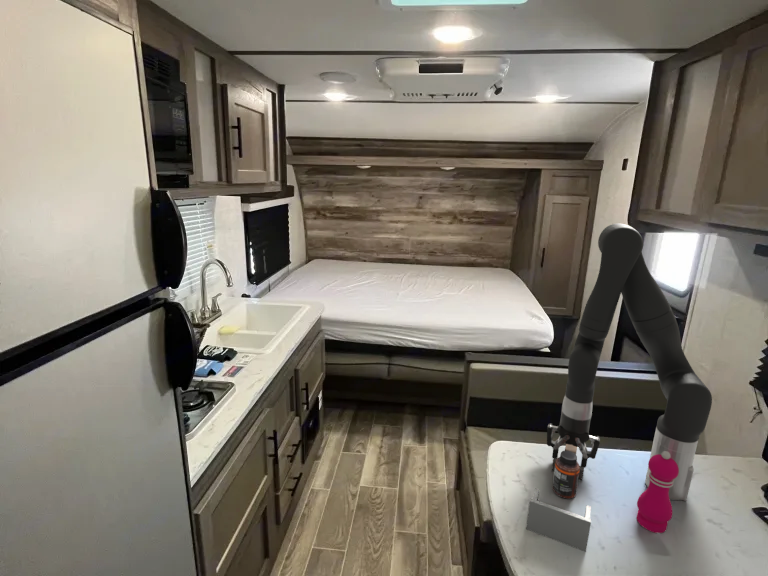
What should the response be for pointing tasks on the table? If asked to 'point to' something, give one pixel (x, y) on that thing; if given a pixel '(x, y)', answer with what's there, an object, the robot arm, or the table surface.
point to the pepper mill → (657, 494)
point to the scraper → (574, 450)
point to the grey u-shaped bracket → (558, 523)
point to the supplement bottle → (566, 475)
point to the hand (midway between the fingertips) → (568, 463)
